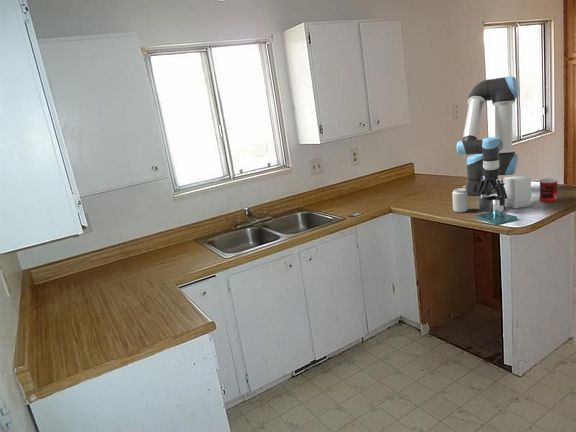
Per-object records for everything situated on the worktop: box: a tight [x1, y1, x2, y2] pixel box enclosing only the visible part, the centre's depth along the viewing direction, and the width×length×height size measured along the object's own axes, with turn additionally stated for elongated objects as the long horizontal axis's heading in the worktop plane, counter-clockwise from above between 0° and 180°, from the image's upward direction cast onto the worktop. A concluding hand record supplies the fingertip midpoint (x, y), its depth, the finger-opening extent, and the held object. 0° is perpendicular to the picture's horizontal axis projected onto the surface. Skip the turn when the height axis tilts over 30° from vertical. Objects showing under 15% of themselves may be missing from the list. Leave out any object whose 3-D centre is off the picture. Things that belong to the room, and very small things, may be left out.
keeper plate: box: [475, 199, 518, 226], centre depth 206 cm, size 14×12×10 cm
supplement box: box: [503, 174, 532, 209], centre depth 220 cm, size 9×9×15 cm
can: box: [451, 187, 469, 214], centre depth 225 cm, size 8×8×12 cm
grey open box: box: [478, 194, 506, 213], centre depth 221 cm, size 8×9×6 cm
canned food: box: [539, 177, 558, 203], centre depth 220 cm, size 8×8×11 cm
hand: (491, 208), depth 222 cm, fingers open, 12 cm apart
